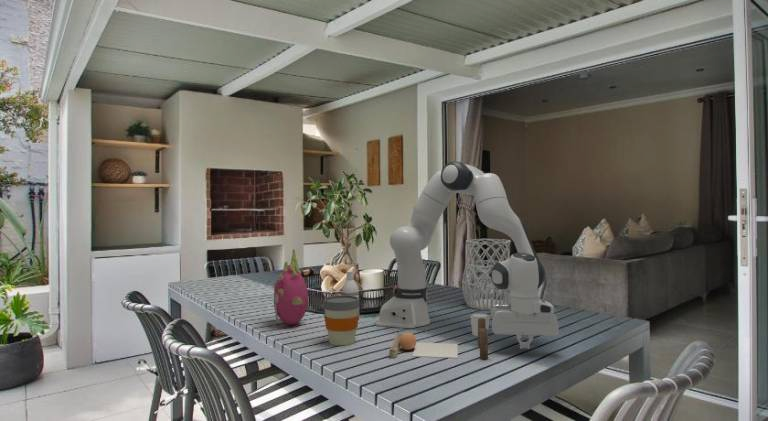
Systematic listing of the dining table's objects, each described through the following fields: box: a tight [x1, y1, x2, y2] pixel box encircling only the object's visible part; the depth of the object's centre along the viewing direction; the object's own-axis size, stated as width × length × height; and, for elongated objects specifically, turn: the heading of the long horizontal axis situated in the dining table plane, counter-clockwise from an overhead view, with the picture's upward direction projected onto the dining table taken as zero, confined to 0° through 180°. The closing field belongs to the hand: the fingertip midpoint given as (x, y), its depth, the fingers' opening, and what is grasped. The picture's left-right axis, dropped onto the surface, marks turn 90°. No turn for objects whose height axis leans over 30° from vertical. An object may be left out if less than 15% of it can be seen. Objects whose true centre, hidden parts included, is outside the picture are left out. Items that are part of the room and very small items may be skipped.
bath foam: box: [341, 270, 360, 320], centre depth 197 cm, size 7×7×20 cm
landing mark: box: [412, 342, 459, 359], centre depth 155 cm, size 14×14×1 cm
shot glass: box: [469, 312, 491, 337], centre depth 172 cm, size 7×7×7 cm
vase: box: [461, 238, 511, 311], centre depth 218 cm, size 24×24×30 cm
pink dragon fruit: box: [273, 249, 309, 326], centre depth 189 cm, size 18×14×30 cm
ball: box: [399, 332, 417, 351], centre depth 156 cm, size 6×6×6 cm
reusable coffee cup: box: [322, 295, 360, 346], centre depth 166 cm, size 13×13×15 cm
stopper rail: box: [389, 333, 404, 359], centre depth 157 cm, size 2×18×2 cm, turn 171°
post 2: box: [479, 328, 489, 361], centre depth 146 cm, size 2×2×9 cm
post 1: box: [477, 318, 486, 348], centre depth 158 cm, size 2×2×9 cm
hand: (524, 348), depth 150 cm, fingers closed
